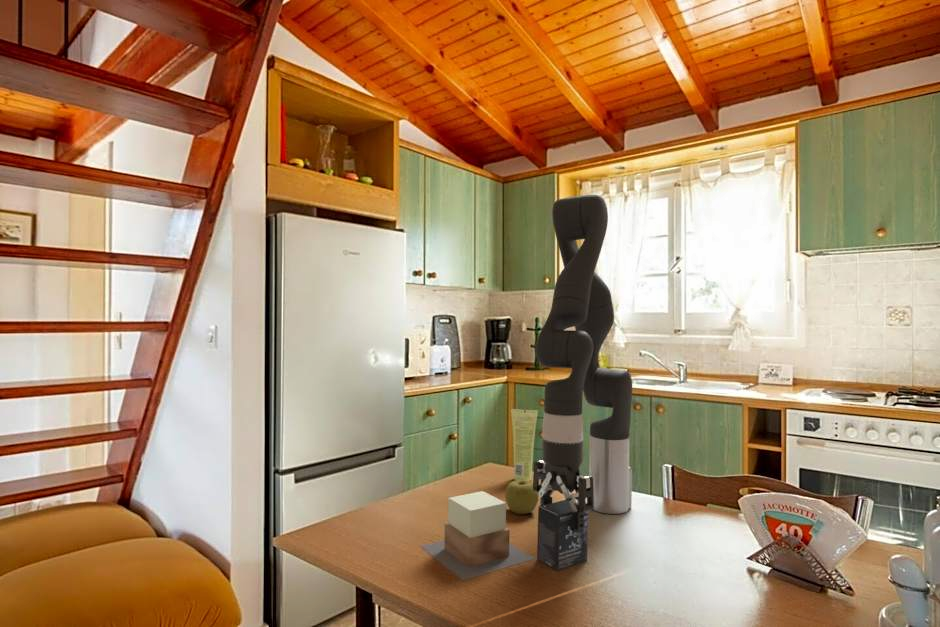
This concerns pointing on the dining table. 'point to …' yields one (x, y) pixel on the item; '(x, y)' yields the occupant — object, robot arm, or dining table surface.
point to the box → (560, 536)
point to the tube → (523, 442)
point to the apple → (521, 496)
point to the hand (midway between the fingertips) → (561, 523)
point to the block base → (476, 546)
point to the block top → (476, 514)
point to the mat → (467, 572)
